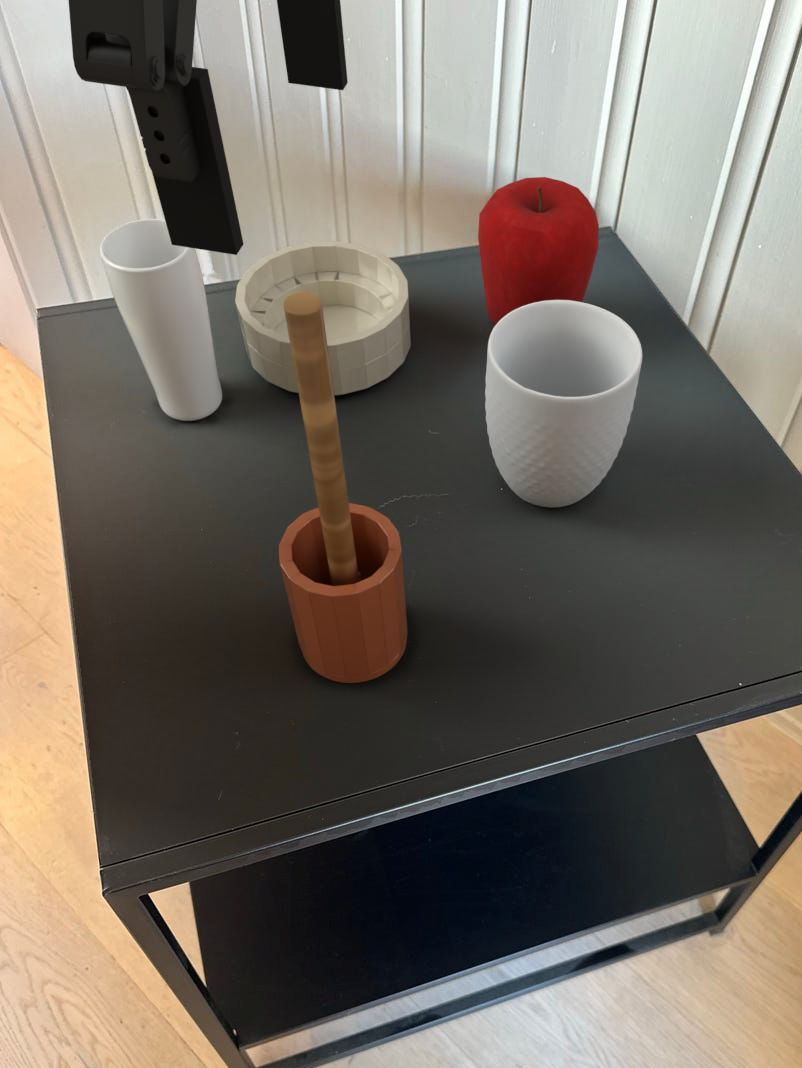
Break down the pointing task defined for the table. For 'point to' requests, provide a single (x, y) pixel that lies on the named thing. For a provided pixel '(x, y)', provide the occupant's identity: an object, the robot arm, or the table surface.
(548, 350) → the mug
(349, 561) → the wooden rod
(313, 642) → the crock
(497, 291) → the apple
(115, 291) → the white cylinder cup
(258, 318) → the bowl
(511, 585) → the table surface
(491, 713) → the table surface
